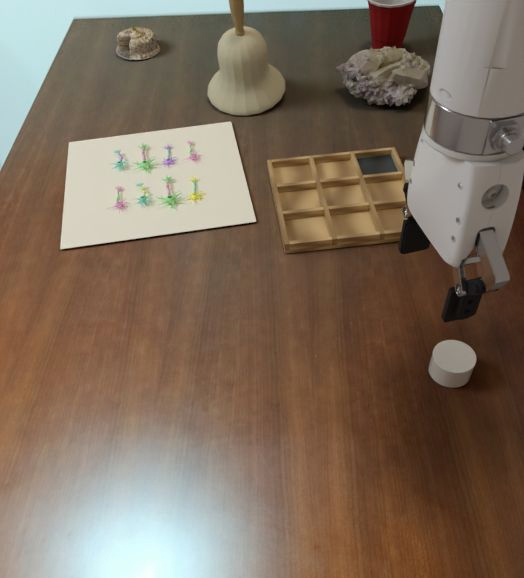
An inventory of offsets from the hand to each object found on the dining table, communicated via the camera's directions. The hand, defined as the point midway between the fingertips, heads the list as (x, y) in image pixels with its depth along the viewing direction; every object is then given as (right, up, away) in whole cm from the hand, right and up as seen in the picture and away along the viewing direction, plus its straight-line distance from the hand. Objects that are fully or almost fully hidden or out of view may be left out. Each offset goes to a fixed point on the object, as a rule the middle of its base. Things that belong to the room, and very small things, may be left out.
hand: (434, 281), depth 57 cm
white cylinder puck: (+6, -9, +14) cm, 18 cm away
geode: (+7, +42, +56) cm, 70 cm away
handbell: (-20, +43, +58) cm, 75 cm away
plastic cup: (+10, +57, +68) cm, 89 cm away
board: (-4, +17, +36) cm, 40 cm away
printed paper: (-35, +22, +42) cm, 59 cm away
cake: (-44, +60, +73) cm, 104 cm away
